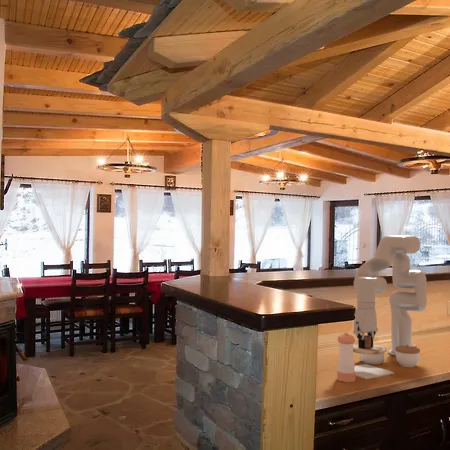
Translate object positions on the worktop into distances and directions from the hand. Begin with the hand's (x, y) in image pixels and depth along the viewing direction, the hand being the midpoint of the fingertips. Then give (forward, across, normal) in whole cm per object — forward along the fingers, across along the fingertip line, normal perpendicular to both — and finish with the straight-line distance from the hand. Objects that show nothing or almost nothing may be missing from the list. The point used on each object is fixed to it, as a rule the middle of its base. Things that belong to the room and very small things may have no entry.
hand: (365, 347), depth 212 cm
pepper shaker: (+11, +16, +4) cm, 20 cm away
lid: (+1, 0, 0) cm, 1 cm away
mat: (+11, 0, 0) cm, 11 cm away
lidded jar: (+11, -25, +2) cm, 28 cm away
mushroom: (+11, -15, -10) cm, 21 cm away
